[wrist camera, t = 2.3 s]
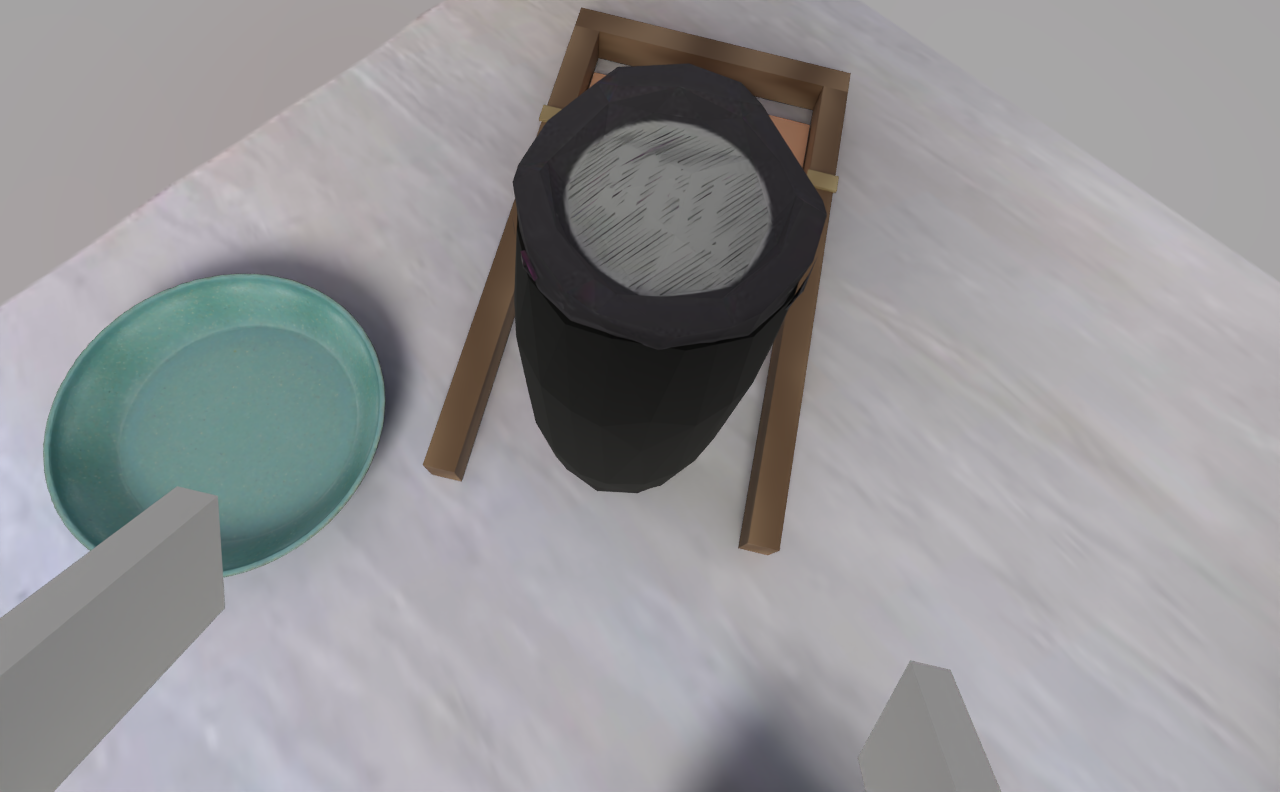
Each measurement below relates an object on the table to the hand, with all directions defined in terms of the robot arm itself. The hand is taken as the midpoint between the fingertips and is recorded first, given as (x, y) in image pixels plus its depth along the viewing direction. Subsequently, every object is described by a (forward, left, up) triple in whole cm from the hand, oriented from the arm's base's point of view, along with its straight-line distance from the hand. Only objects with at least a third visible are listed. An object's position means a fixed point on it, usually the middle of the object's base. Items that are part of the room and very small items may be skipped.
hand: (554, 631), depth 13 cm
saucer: (+18, -6, -20) cm, 27 cm away
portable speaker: (0, -11, -20) cm, 22 cm away
